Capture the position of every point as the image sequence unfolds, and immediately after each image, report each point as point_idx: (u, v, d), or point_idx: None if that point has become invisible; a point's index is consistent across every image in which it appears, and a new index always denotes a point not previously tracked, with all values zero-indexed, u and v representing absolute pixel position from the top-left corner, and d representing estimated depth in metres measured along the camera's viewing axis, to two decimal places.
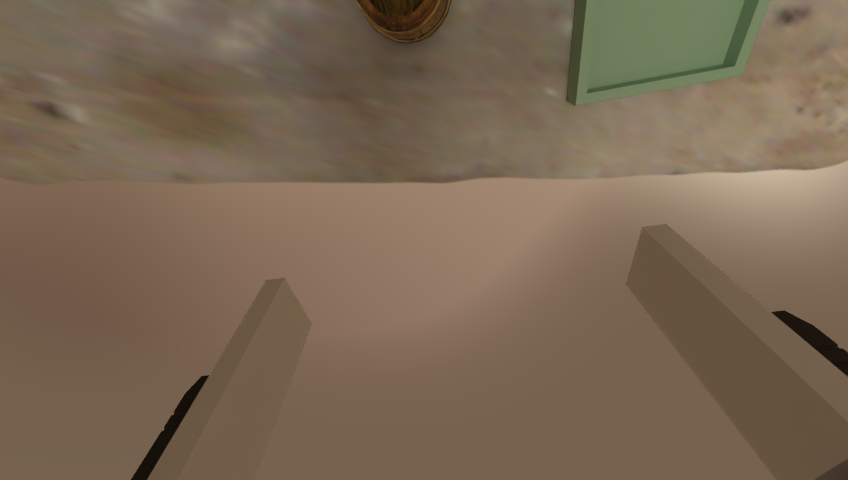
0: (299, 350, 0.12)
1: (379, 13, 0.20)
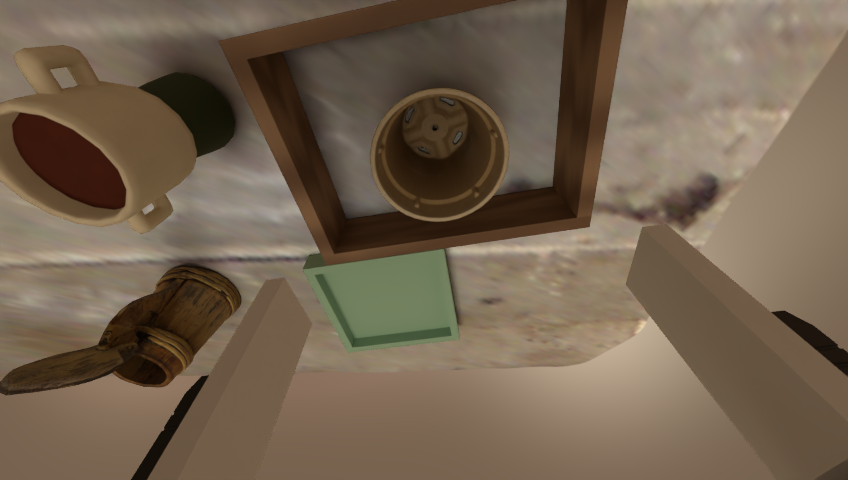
0: (299, 350, 0.12)
1: (140, 383, 0.32)
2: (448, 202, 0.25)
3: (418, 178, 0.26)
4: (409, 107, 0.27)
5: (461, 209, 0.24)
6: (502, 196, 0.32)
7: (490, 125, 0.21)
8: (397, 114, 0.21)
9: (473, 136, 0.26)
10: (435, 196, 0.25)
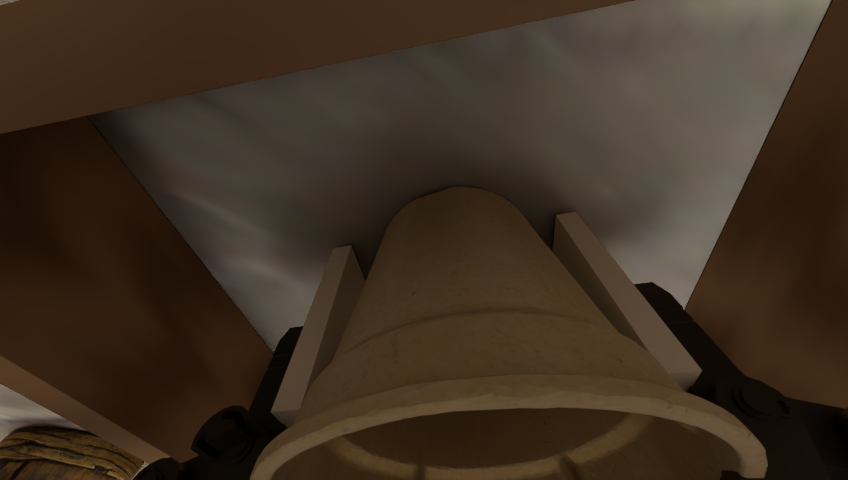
0: None
1: None
2: (495, 475, 0.10)
3: None
4: None
5: None
6: None
7: None
8: None
9: None
10: (461, 453, 0.10)
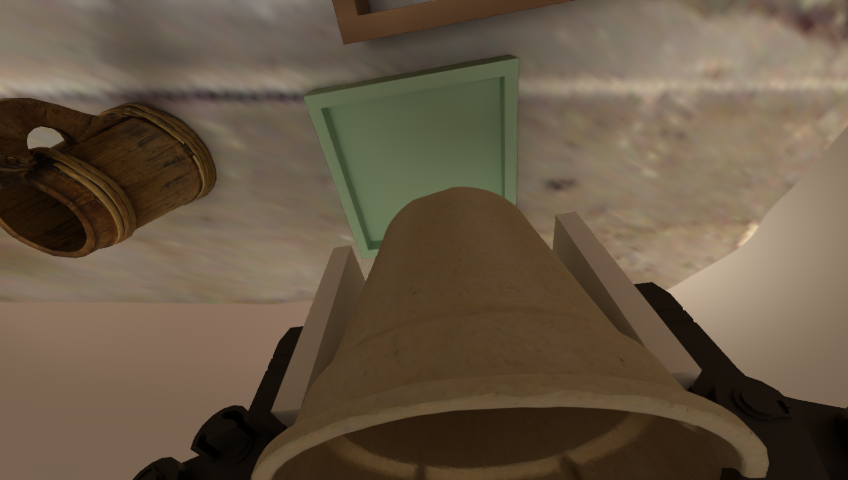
0: None
1: (47, 249, 0.21)
2: (496, 475, 0.10)
3: None
4: None
5: None
6: None
7: None
8: None
9: None
10: (462, 453, 0.10)
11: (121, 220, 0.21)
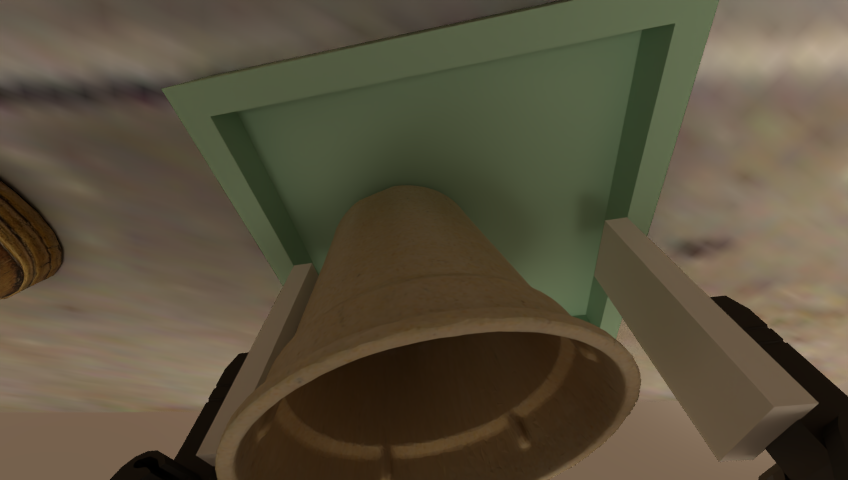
0: None
1: None
2: (456, 443, 0.11)
3: (382, 369, 0.12)
4: None
5: None
6: None
7: None
8: None
9: None
10: (424, 429, 0.11)
11: None
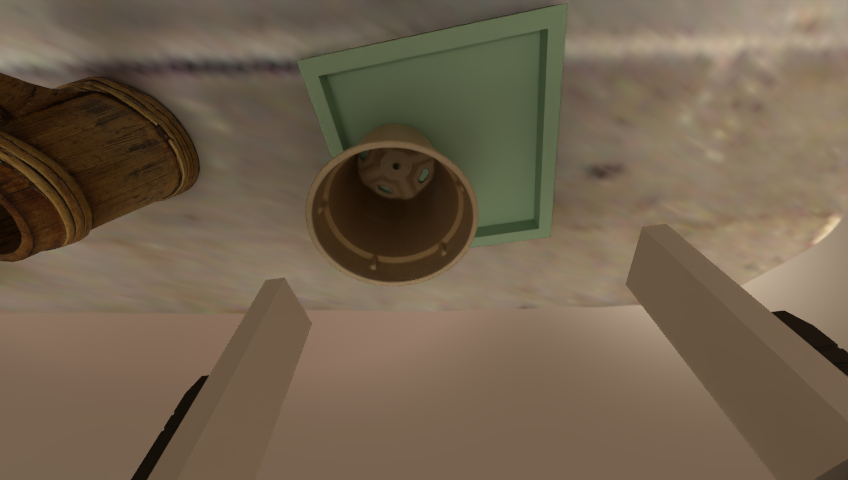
0: (299, 350, 0.12)
1: None
2: (412, 259, 0.21)
3: (377, 227, 0.22)
4: None
5: (426, 271, 0.20)
6: None
7: (455, 176, 0.17)
8: (339, 166, 0.17)
9: (440, 177, 0.22)
10: (396, 252, 0.21)
11: (69, 214, 0.17)
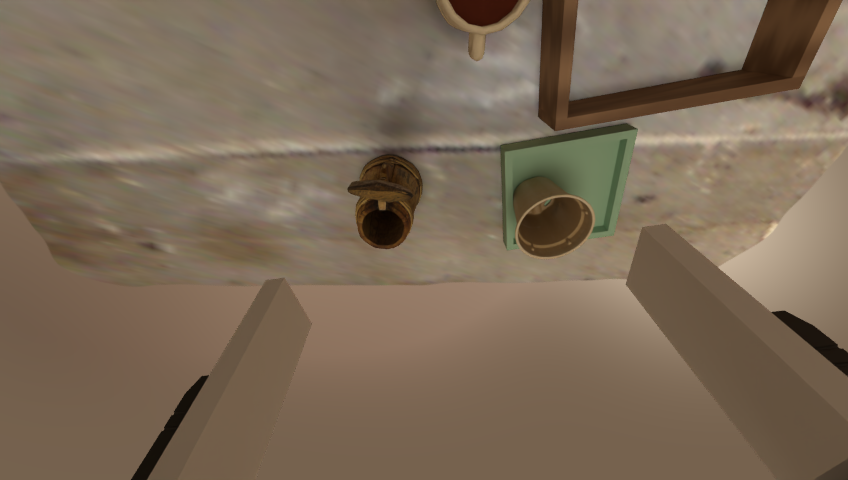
0: (299, 350, 0.12)
1: (374, 244, 0.36)
2: (550, 246, 0.41)
3: (527, 230, 0.43)
4: None
5: (560, 252, 0.40)
6: (696, 78, 0.36)
7: (583, 207, 0.37)
8: (531, 202, 0.37)
9: (561, 204, 0.42)
10: (541, 243, 0.41)
11: None
